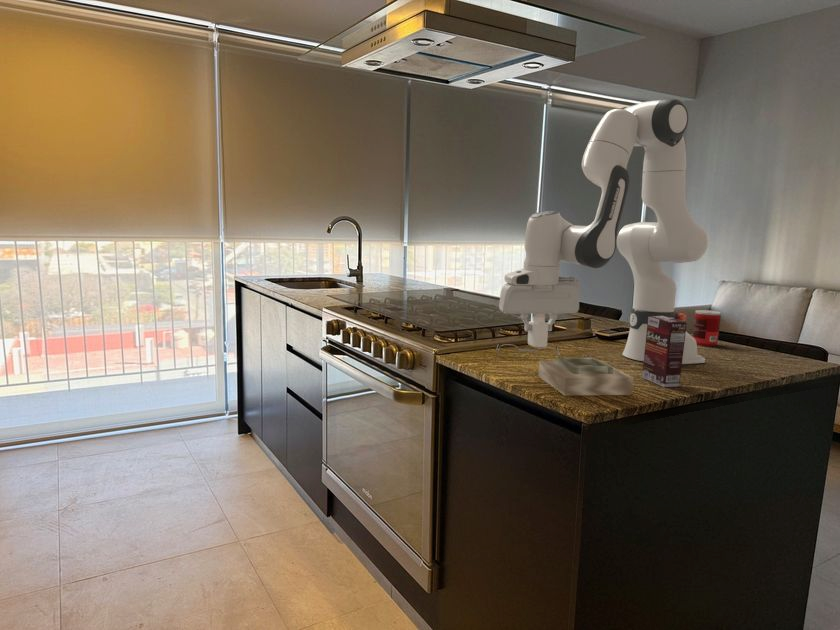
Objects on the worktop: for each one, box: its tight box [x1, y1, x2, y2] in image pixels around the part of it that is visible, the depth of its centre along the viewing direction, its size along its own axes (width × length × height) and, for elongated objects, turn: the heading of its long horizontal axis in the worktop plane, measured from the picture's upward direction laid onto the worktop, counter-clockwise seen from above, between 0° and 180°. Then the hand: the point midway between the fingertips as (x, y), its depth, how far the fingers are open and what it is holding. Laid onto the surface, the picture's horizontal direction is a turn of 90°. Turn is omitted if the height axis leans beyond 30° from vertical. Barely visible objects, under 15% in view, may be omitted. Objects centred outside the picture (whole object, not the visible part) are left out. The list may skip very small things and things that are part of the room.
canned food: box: [692, 309, 722, 347], centre depth 193 cm, size 8×8×11 cm
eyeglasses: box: [495, 343, 561, 361], centre depth 171 cm, size 18×19×4 cm
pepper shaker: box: [527, 313, 549, 348], centre depth 148 cm, size 4×4×10 cm
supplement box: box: [641, 316, 687, 388], centre depth 141 cm, size 9×5×16 cm, turn 16°
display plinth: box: [538, 357, 634, 397], centre depth 136 cm, size 16×16×6 cm
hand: (537, 330), depth 148 cm, fingers closed on pepper shaker, 4 cm apart
